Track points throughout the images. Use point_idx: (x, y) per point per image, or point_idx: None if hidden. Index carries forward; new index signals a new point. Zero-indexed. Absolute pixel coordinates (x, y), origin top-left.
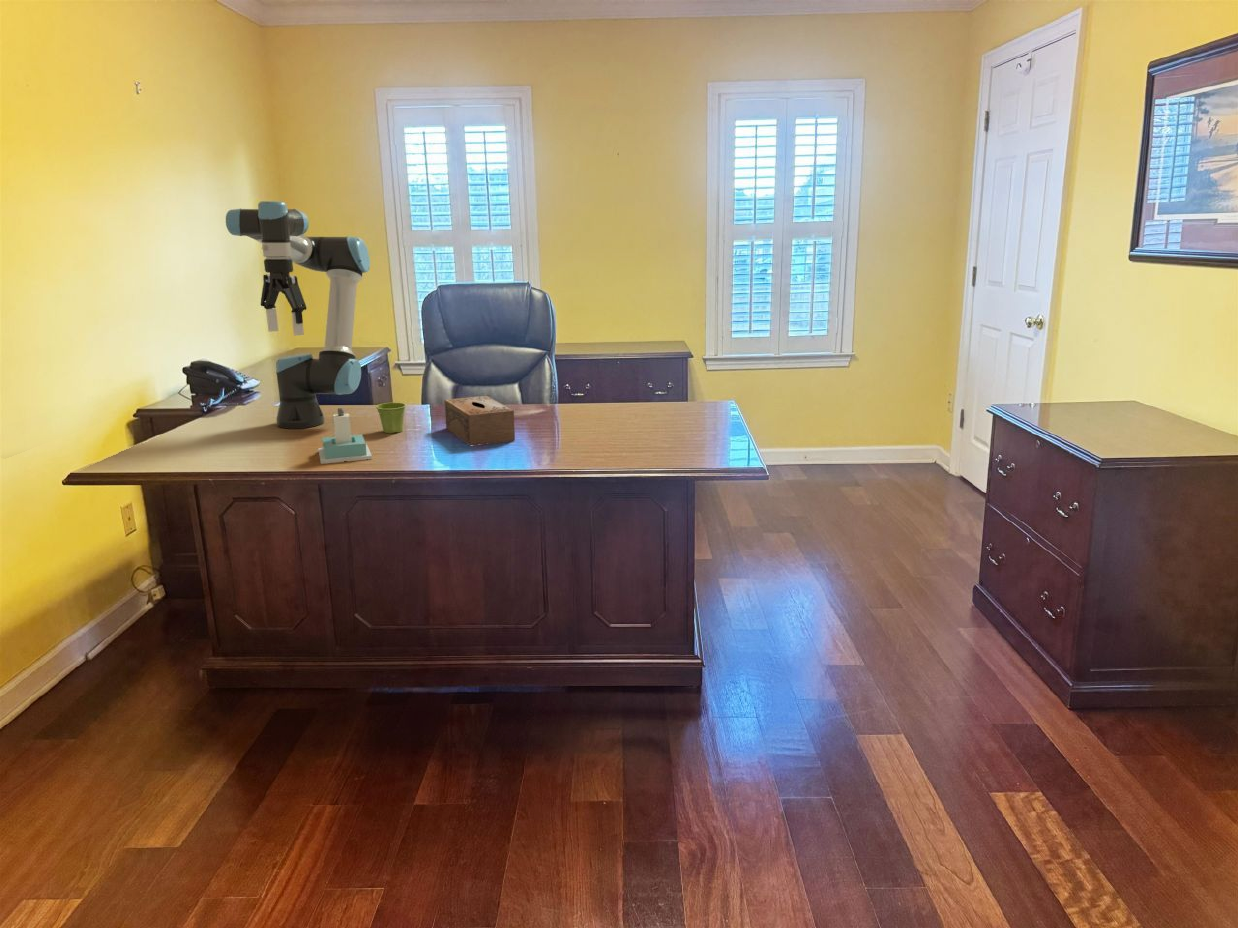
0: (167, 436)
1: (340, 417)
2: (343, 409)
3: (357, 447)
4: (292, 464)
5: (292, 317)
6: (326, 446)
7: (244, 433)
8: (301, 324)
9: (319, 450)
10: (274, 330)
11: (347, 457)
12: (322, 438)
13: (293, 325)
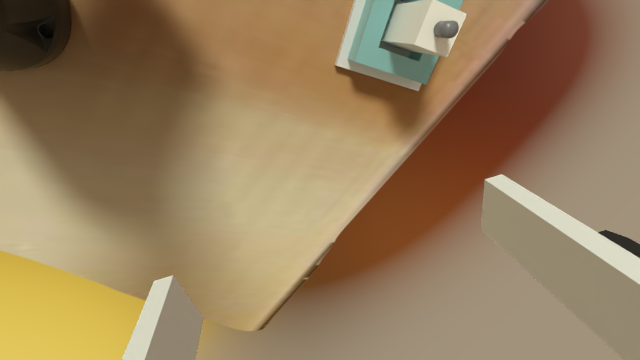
0: (56, 267)
1: (454, 39)
2: (454, 21)
3: None
4: (383, 130)
5: (603, 331)
6: (425, 79)
7: (81, 152)
8: (567, 226)
9: (352, 69)
10: (185, 299)
11: None
12: (362, 63)
13: (540, 274)
